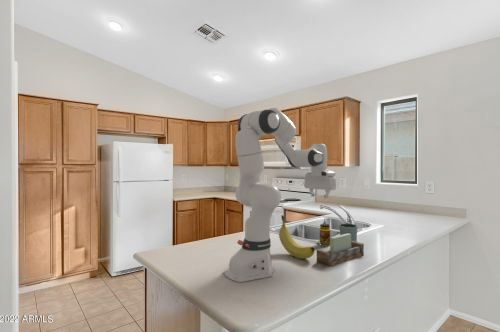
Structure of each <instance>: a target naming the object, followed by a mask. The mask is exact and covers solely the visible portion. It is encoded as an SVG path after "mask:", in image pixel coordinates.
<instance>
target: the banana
mask: <svg viewBox="0 0 500 332" xmlns="http://www.w3.org/2000/svg"><path fill="white" fill-rule="evenodd" d="M281 220H282V221H281V222H282V225H281V227H280V228H279V231H278V237H279V242H280V243H281V245H282V246H283V248H284V249H285V250H286V251H287V253H288V254H290V255H291V256H292V257H294V258H297V259H300V260H301V259H302V260H306V259H310V258H311V257H313V255H314V254H315V248H314V246H302V245H300V244H298V243H297V242H296V241H295V240H294V239H293V236H291V233H290V231H289V229H288V227H287V226H286V224H285V223H286V222H285V221H286V217H285V215H283V214H282V215H281Z"/></svg>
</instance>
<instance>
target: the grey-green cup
mask: <svg viewBox="0 0 500 332" xmlns="http://www.w3.org/2000/svg"><path fill="white" fill-rule="evenodd" d="M338 226H339V227H338V228H339V235H343V234H347V233H348V234H351V241H355V242H358V241H357V239H358V238H357V237H358V224H353V223H340V224H338Z"/></svg>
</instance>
